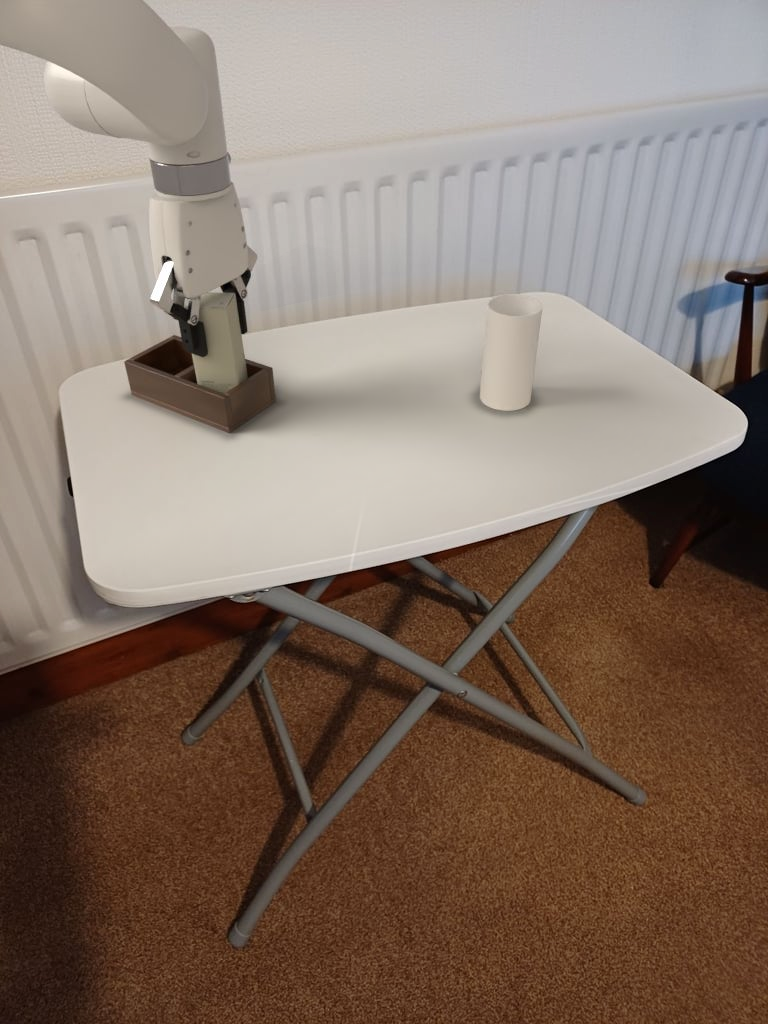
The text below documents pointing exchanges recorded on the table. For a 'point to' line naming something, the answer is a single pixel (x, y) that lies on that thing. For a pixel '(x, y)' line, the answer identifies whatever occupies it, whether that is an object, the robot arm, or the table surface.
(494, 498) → the table surface
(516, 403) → the cup
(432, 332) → the table surface
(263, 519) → the table surface
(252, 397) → the divided tray
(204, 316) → the box
